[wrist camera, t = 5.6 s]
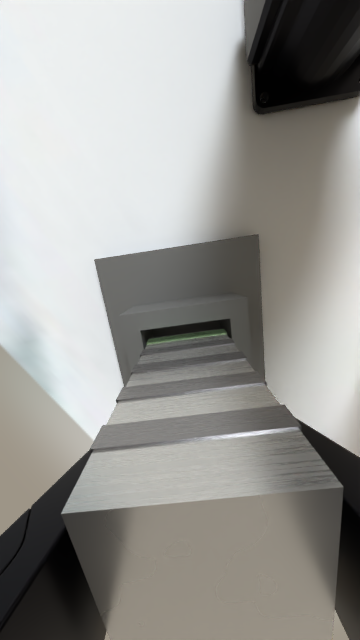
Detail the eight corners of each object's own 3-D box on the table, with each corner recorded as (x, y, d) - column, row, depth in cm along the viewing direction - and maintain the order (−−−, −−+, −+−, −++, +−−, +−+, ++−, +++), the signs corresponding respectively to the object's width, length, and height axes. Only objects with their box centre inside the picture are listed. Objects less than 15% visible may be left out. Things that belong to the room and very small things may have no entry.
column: (222, 327, 10) (347, 483, 3) (229, 393, 11) (334, 654, 3) (149, 337, 10) (56, 511, 3) (161, 401, 11) (117, 666, 4)
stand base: (253, 236, 13) (294, 214, 8) (262, 409, 16) (295, 465, 11) (99, 260, 13) (54, 252, 9) (137, 424, 16) (119, 482, 12)
